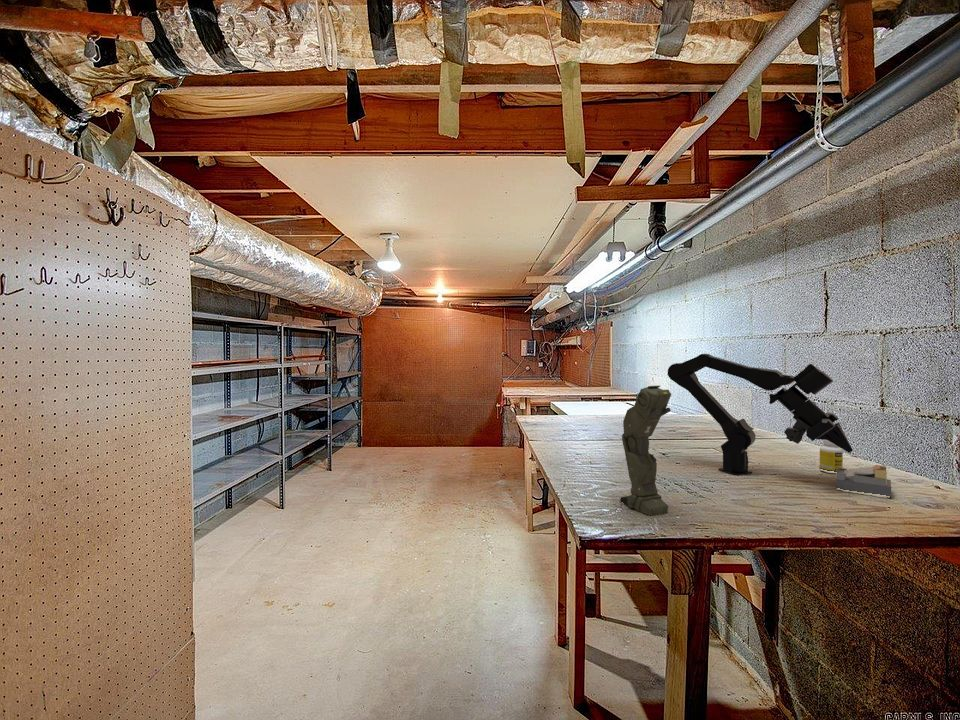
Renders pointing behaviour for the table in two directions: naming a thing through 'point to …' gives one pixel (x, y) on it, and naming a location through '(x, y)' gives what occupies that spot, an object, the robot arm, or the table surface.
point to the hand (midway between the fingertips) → (851, 451)
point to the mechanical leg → (644, 449)
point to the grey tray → (865, 482)
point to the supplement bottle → (831, 456)
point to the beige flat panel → (860, 471)
